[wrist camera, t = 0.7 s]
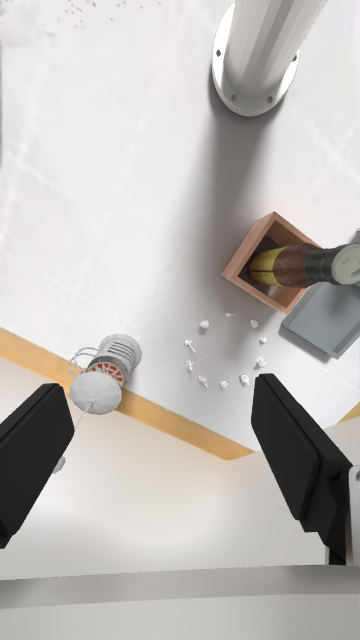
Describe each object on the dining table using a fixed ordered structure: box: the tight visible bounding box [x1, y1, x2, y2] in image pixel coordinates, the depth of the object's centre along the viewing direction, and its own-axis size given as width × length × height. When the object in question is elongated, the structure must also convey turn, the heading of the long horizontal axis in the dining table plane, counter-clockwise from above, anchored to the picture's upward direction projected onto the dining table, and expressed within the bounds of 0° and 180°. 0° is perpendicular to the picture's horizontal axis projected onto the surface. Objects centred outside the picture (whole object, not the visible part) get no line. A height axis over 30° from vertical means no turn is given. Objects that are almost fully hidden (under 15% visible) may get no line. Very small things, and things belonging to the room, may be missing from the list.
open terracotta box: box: [221, 211, 321, 315], centre depth 34 cm, size 12×13×7 cm
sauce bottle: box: [249, 243, 360, 289], centre depth 28 cm, size 7×6×20 cm
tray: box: [281, 280, 360, 360], centre depth 39 cm, size 15×15×2 cm
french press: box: [52, 334, 142, 473], centre depth 30 cm, size 10×12×25 cm
